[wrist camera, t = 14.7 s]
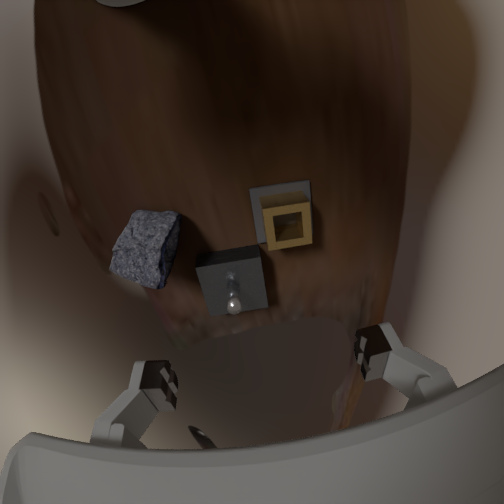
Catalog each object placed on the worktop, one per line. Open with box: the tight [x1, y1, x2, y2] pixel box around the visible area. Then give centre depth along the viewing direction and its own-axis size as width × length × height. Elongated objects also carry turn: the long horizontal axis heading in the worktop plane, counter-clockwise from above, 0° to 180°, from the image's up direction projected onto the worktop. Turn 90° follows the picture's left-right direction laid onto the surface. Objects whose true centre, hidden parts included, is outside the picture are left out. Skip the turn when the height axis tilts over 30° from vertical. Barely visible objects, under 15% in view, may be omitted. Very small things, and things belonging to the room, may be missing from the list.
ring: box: [259, 190, 312, 251], centre depth 43 cm, size 6×6×5 cm
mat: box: [249, 180, 313, 243], centre depth 45 cm, size 9×9×1 cm
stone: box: [110, 210, 182, 289], centre depth 42 cm, size 12×10×10 cm
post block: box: [195, 244, 268, 316], centre depth 47 cm, size 10×10×9 cm
